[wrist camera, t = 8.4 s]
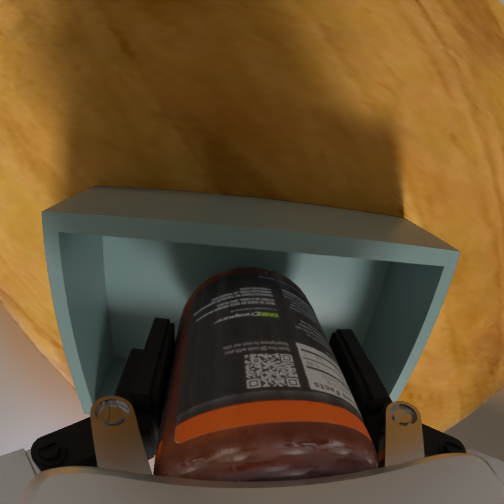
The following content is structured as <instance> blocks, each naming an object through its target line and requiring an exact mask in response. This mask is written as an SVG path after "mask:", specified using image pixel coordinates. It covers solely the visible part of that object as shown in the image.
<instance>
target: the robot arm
mask: <svg viewBox="0 0 504 504" xmlns="http://www.w3.org/2000/svg"><path fill="white" fill-rule="evenodd" d="M174 345H175V324H174V323H170V320H169V319H166V318H157V317H155V318H154V321H153V324H152V327H151V330H150V332H149V335H148V338H147V341H146V344H145V347H144V349H137V348H132V349H131V351H130V354H129V357H128V359H127V362H126V365H125V367H124V370H123V373H122V375H121V378H120V381H119V384H118V386H117V389H116V392H115V395H114V396H106V397H102V398H100V399H98V400H97V401H96V402H95V403H93V405H92V407H91V410H90V417H89V418H86V419H84V420H81V421H79V422H77V423H74V424H72V425H69V426H67V427H65V428H62V429H60V430H57V431H55V432H52V433H50V434H47V435H45V436H42V437H40V438H38V439H37V440H36V441H35V442H34V443H33V445H32V447H31V449H30V450H27V451H25V450H24V449H20V450H18V451H14V452H12V453H9V454H6V455H2V456H0V504H504V463H503V462H502V461H500V460H498V459H495V458H492V457H489V456H486V455H484V454H481V453H479V452H476V451H473V450H471V449H468V450H467V451H465V447H464V446H463V444H462V443H461V442H460V441H459V440H458V439H456V438H454V437H452V436H449V435H447V434H445V433H442V432H440V431H438V430H435V429H433V428H431V427H429V426H426V425H424V424H422V423H421V416H420V413H419V411H418V410H417V408H416V407H414V406H413V405H412V404H410V403H408V402H404V401H395V402H392V400H391V398H390V396H389V394H388V393H387V391H386V389H385V387H384V385H383V383H382V381H381V380H380V378H379V376H378V374H377V372H376V370H375V369H374V367H373V365H372V363H371V362H370V360H369V359H368V357H367V356H366V354H365V352H364V350H363V348H362V347H361V345H360V343H359V341H358V340H357V338H356V336H355V334H354V333H353V331H352V330H351V329H337V330H336V332H333V333H332V334H331V337H330V341H329V345H330V347H331V349H332V352H333V354H334V356H335V358H336V360H337V362H338V364H339V367H340V369H341V371H342V374H343V376H344V378H345V380H346V383H347V385H348V387H349V389H350V391H351V394H352V396H353V398H354V400H355V403H356V405H357V407H358V410H359V412H360V414H361V416H362V419H363V422H364V425H365V427H366V429H367V431H368V433H369V436H370V438H371V440H372V443H373V445H374V448H375V450H376V453H377V459H378V468H377V469H372V470H367V471H361V472H355V473H349V474H343V475H336V476H328V477H320V478H310V479H299V480H285V481H259V482H233V481H208V480H193V479H182V478H173V477H164V476H156V475H152V472H151V469H150V465H149V462H148V460H149V459H151V458H153V457H154V455H156V450H157V441H158V434H159V428H160V422H161V417H162V410H163V405H164V398H165V393H166V387H167V382H168V375H169V371H170V367H171V361H172V357H173V351H174Z"/></svg>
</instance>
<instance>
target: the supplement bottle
mask: <svg viewBox="0 0 504 504" xmlns="http://www.w3.org/2000/svg"><path fill="white" fill-rule="evenodd" d="M377 468H378V459H377V453H376V450H375V448H374V445H373V443H372V440H371V438H370V436H369V433H368V431H367V429H366V427H365V425H364V422H363V419H362V416H361V414H360V412H359V410H358V407H357V405H356V403H355V400H354V398H353V396H352V394H351V391H350V389H349V387H348V385H347V383H346V380H345V378H344V376H343V374H342V371H341V369H340V367H339V364H338V362H337V360H336V358H335V356H334V354H333V352H332V349H331V347H330V345H329V343H328V340H327V338H326V336H325V334H324V332H323V330H322V327H321V325H320V323H319V321H318V319H317V317H316V314H315V312H314V309H313V308H312V306H311V304H310V303H309V301H308V299H307V297H306V296H305V294H304V293H303V291H302V290H301V289H300V288H299V287H298V286H297V285H296V284H295V283H294V282H292V281H291V280H290V279H288V278H287V277H285V276H284V275H281V274H279V273H277V272H274V271H270V270H266V269H262V268H255V267H252V268H245V267H244V268H236V269H231V270H228V271H225V272H221V273H219V274H216V275H215V276H212V277H211V278H209V279H208V280H206V281H205V282H204V283H202V284H201V285H200V286H199V287H198V288H197V289H196V290H195V291H194V292H193V293H192V295H191V296H190V297H189V299H188V301H187V302H186V304H185V306H184V309H183V312H182V315H181V318H180V322H179V326H178V332H177V336H176V341H175V345H174V351H173V357H172V361H171V367H170V371H169V375H168V382H167V387H166V393H165V398H164V405H163V410H162V417H161V422H160V428H159V434H158V441H157V450H156V456H155V464H154V474H153V475H156V476H164V477H173V478H182V479H193V480H208V481H233V482H259V481H285V480H299V479H310V478H320V477H328V476H336V475H343V474H349V473H355V472H361V471H367V470H372V469H377Z"/></svg>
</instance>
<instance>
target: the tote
mask: <svg viewBox="0 0 504 504" xmlns="http://www.w3.org/2000/svg"><path fill="white" fill-rule="evenodd" d="M42 224H43V236H44V246H45V254H46V262H47V269H48V276H49V282H50V288H51V294H52V299H53V304H54V309H55V314H56V319H57V323H58V328H59V332H60V336H61V340H62V344H63V348H64V351H65V355H66V359H67V362H68V366H69V369H70V372H71V376H72V379H73V382H74V385H75V388H76V391H77V394H78V397H79V400H80V402H81V405H82V408H83V411H84V413H85V414H89V415H90V410H91V407H92V405H93V403H95V402H96V401H97V400H98V399H100V398H102V397H106V396H114V395H115V392H116V389H117V386H118V384H119V381H120V378H121V375H122V373H123V370H124V367H125V365H126V362H127V359H128V357H129V354H130V351H131V349H132V348H137V349H144V347H145V344H146V341H147V338H148V335H149V332H150V330H151V327H152V324H153V321H154V318H155V317H157V318H166V319H169V320H170V323H174V324H175V341H176V336H177V332H178V326H179V322H180V318H181V315H182V312H183V309H184V306H185V304H186V302H187V301H188V299H189V297H190V296H191V295H192V293H193V292H194V291H195V290H196V289H197V288H198V287H199V286H200V285H201V284H202V283H204V282H205V281H206V280H208V279H209V278H211V277H212V276H215V275H216V274H219V273H221V272H225V271H228V270H231V269H236V268H244V267H245V268H252V267H255V268H262V269H266V270H270V271H274V272H277V273H279V274H281V275H284V276H285V277H287V278H288V279H290V280H291V281H292V282H294V283H295V284H296V285H297V286H298V287H299V288H300V289H301V290H302V291H303V293H304V294H305V296H306V297H307V299H308V301H309V303H310V304H311V306H312V308H313V309H314V312H315V314H316V317H317V319H318V321H319V323H320V325H321V327H322V330H323V332H324V334H325V336H326V338H327V340H328V343H329V341H330V337H331V334H332V333H333V332H336V330H337V329H351V330H352V331H353V333H354V334H355V336H356V338H357V340H358V341H359V343H360V345H361V347H362V348H363V350H364V352H365V354H366V356H367V357H368V359H369V360H370V362H371V363H372V365H373V367H374V369H375V370H376V372H377V374H378V376H379V378H380V380H381V381H382V383H383V385H384V387H385V389H386V391H387V393H388V394H389V396H390V398H391V400H392V402H395V401H397V400H398V398H399V396H400V394H401V392H402V391H403V389H404V387H405V385H406V383H407V381H408V379H409V377H410V375H411V374H412V372H413V370H414V368H415V366H416V364H417V362H418V360H419V357H420V355H421V353H422V351H423V349H424V347H425V345H426V342H427V340H428V338H429V336H430V333H431V331H432V329H433V327H434V324H435V322H436V319H437V317H438V314H439V312H440V309H441V307H442V304H443V302H444V299H445V296H446V294H447V291H448V288H449V285H450V283H451V280H452V277H453V274H454V271H455V268H456V265H457V261H458V258H459V255H460V251H459V250H457V249H455V248H454V247H452V246H451V245H449V244H447V243H446V242H444V241H443V240H441V239H439V238H438V237H436V236H434V235H433V234H431V233H429V232H428V231H426V230H424V229H423V228H421V227H419V226H417V225H416V224H414V223H412V222H411V221H409V220H407V219H405V218H401V217H395V216H389V215H383V214H376V213H370V212H363V211H357V210H350V209H343V208H336V207H329V206H321V205H314V204H306V203H298V202H290V201H281V200H273V199H264V198H254V197H244V196H234V195H224V194H213V193H201V192H189V191H175V190H161V189H145V188H127V187H105V186H94V187H92V188H89V189H87V190H85V191H83V192H81V193H79V194H76V195H74V196H72V197H70V198H68V199H66V200H64V201H62V202H60V203H58V204H56V205H54V206H52V207H50V208H48V209H46V210H44V211H42Z"/></svg>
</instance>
